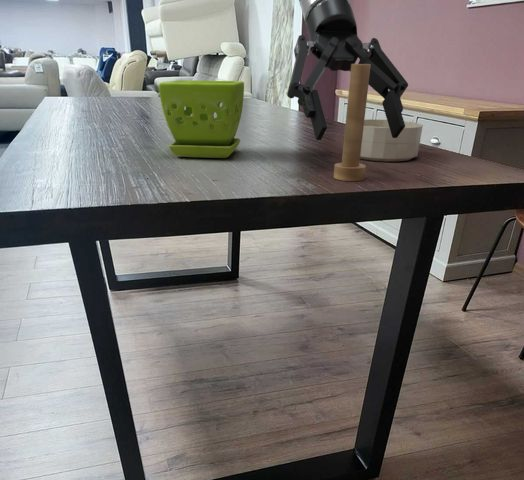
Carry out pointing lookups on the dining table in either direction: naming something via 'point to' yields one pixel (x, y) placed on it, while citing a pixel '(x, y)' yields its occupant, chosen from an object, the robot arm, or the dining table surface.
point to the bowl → (389, 141)
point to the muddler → (354, 126)
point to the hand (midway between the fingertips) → (361, 133)
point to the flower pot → (202, 116)
